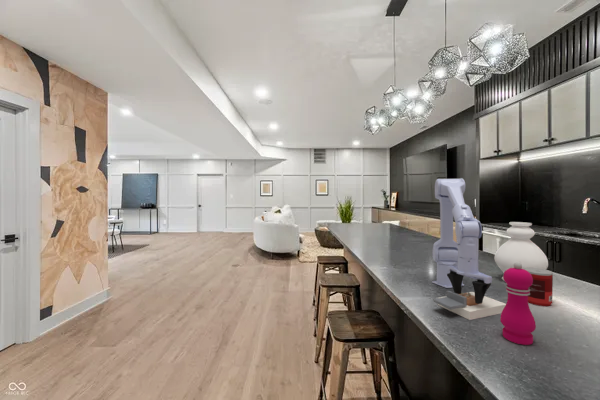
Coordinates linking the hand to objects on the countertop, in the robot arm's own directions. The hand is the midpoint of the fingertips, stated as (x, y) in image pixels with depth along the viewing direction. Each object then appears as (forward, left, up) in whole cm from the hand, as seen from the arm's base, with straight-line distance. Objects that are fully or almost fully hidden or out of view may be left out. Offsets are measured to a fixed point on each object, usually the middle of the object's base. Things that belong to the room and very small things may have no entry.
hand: (467, 298), depth 90 cm
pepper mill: (+4, +18, -4) cm, 19 cm away
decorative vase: (-46, -13, -4) cm, 47 cm away
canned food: (-28, +4, -4) cm, 28 cm away
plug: (0, 0, -3) cm, 4 cm away
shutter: (+8, 0, -1) cm, 8 cm away
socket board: (-2, 0, -3) cm, 4 cm away
